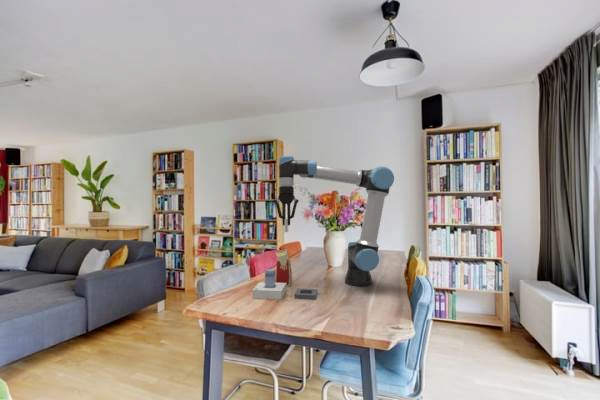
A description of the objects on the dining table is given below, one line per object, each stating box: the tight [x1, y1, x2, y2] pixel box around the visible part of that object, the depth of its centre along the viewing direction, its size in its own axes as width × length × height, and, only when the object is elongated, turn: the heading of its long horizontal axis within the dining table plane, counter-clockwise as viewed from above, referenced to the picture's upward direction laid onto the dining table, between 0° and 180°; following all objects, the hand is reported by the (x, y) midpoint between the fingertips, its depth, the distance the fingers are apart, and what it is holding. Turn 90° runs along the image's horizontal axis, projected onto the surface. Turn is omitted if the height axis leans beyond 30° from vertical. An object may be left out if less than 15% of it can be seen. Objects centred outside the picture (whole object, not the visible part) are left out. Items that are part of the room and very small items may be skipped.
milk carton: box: [274, 247, 293, 287], centre depth 164 cm, size 9×9×20 cm
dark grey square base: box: [294, 287, 318, 301], centre depth 143 cm, size 10×10×2 cm
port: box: [251, 281, 287, 301], centre depth 146 cm, size 14×14×4 cm
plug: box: [264, 268, 276, 288], centre depth 146 cm, size 4×4×12 cm
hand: (286, 231), depth 152 cm, fingers closed
